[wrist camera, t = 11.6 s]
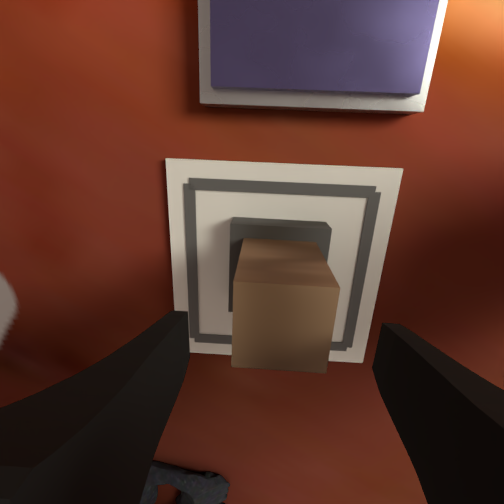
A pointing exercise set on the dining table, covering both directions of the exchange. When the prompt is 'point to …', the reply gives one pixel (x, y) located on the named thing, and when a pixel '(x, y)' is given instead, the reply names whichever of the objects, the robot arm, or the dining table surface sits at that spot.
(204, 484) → the dark slate chunk
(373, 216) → the print card
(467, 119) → the dining table surface
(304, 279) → the stamp
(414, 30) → the ink pad
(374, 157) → the dining table surface
